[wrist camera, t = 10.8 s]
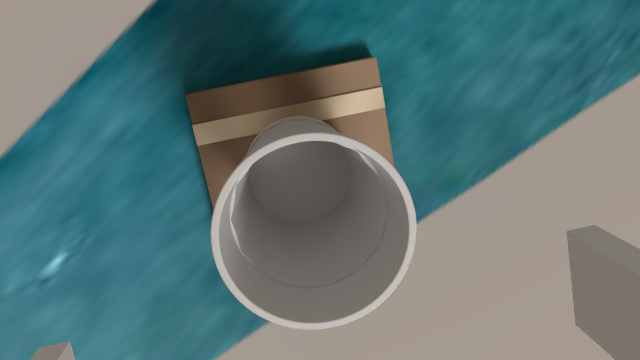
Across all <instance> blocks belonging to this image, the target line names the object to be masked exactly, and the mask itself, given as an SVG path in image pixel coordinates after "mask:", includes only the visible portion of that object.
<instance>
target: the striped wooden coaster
mask: <svg viewBox="0 0 640 360" xmlns="http://www.w3.org/2000/svg"><path fill="white" fill-rule="evenodd" d="M185 97H186V101H187V105H188V109H189V113H190V117H191V121H192V127H193V131H194V135H195V139H196V143H197V146H198V149H199V153H200V157H201V162H202V166H203V170H204V174H205V178H206V182H207V186H208V190H209V194H210V198H211V202H212V206H213V210H214V207H215V203H216V201H217V198H218V196H219V193H220V191H221V189H222V187H223V185H224V184H225V182H226V181H227V179H228V178H229V176H230V175H231V173H232V172H233V171H234V170H235V168H236V167H237V166H238V165H239V163H240V162H241V161H242V160H243V158H244V157H245V156H246V155H247V152H248V149H249V147H250V145H251V143H252V141H253V140H254V138H255V137H256V136H257V135H258V134H259V133H260V132H261V131H262V130H263V129H264V128H265V127H267V126H268V125H269V124H271V123H273V122H275V121H277V120H280V119H282V118H286V117H291V116H306V117H312V118H315V119H318V120H321V121H323V122H325V123H327V124H328V125H330V126H331V127H332V128H334V129H335V130H336V131H337V132H339V133H341V134H343V135H346V136H348V137H350V138H353V139H355V140H357V141H360V142H362V143H364V144H366V145H367V146H369V147H371V148H372V149H374V150H375V151H377V152H378V153H380V154H381V155H382V156H383V157H384V158H385V159H387V160H388V161H389V162H390V163H391V164H392V166H393V167H394V161H393V155H392V149H391V143H390V137H389V131H388V124H387V118H386V112H385V103H384V97H383V91H382V87H381V82H380V76H379V70H378V64H377V58H376V57H368V58H363V59H358V60H353V61H348V62H343V63H337V64H332V65H327V66H322V67H317V68H312V69H307V70H302V71H297V72H292V73H287V74H282V75H277V76H272V77H267V78H262V79H257V80H252V81H247V82H242V83H237V84H232V85H227V86H222V87H217V88H212V89H207V90H202V91H197V92H192V93H188V94H187V95H185ZM394 168H395V167H394Z"/></svg>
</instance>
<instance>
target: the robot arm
mask: <svg viewBox="0 0 640 360" xmlns="http://www.w3.org/2000/svg"><path fill="white" fill-rule="evenodd" d="M567 238H568V249H569V259H570V270H571V280H572V291H573V302H574V312H575V323H576V325H577V326H578V327H579V328H580V329H581V330H582V331H584V332H585V333H586V334H587V335H588V336H589V337H590V338H591V339H593V340H594V341H595V342H596V343H597V344H599V345H600V346H601V347H602V348H603V349H604V350H605V351H606V352H607V353H609V354H610V355H611V356H612V357H613V358H614V359H615V360H640V249H638V248H636V247H634V246H633V245H631V244H629V243H627V242H625V241H623V240H621V239H619V238H617V237H616V236H614V235H612V234H610V233H608V232H606V231H605V230H603V229H601V228H599V227H597V226H595V225H592V226H588V227H583V228H579V229H575V230H570V231H567ZM31 360H75V357H74V354H73V351H72V348H71V345H70V342H64V343H60V344H55V345H51V346H46V347H42V348H39V349H38V350H37V351H36V353H35V354H34V356H33V357H32V358H31Z"/></svg>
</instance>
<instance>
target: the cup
mask: <svg viewBox="0 0 640 360" xmlns="http://www.w3.org/2000/svg"><path fill="white" fill-rule="evenodd" d="M416 228H417V226H416V214H415V209H414V205H413V201H412V198H411V195H410V193H409V190H408V188H407V186H406V184H405V182H404V181H403V179H402V177H401V176H400V174H399V173H398V172H397V170H396V169H395V168H394V167H393V166H392V164H391V163H390V162H389V161H388V160H387V159H385V158H384V157H383V156H382V155H381V154H380V153H378V152H377V151H375V150H374V149H372V148H371V147H369V146H367V145H366V144H364V143H362V142H360V141H357V140H355V139H353V138H350V137H348V136H346V135H343V134H341V133H339V132H337V131H336V130H335V129H334V128H332V127H331V126H330V125H328V124H327V123H325V122H323V121H321V120H318V119H315V118H312V117H306V116H291V117H286V118H282V119H280V120H277V121H275V122H273V123H271V124H269V125H268V126H267V127H265V128H264V129H263V130H262V131H261V132H260V133H259V134H258V135H257V136H256V137H255V138H254V140H253V141H252V143H251V145H250V147H249V149H248V152H247V155H246V156H245V157H244V158H243V160H242V161H241V162H240V163H239V165H238V166H237V167H236V168H235V170H234V171H233V172H232V173H231V175H230V176H229V178H228V179H227V181H226V182H225V184H224V185H223V187H222V189H221V191H220V193H219V196H218V198H217V201H216V203H215V207H214V210H213V215H212V221H211V246H212V252H213V256H214V260H215V263H216V266H217V269H218V271H219V273H220V275H221V277H222V279H223V281H224V282H225V284H226V286H227V287H228V288H229V290H230V291H231V292H232V294H233V295H234V296H235V297H236V298H237V299H238V300H239V301H240V302H241V303H242V304H243V305H244V306H246V307H247V308H248V309H249V310H251V311H252V312H254V313H255V314H257V315H259V316H260V317H262V318H264V319H266V320H268V321H271V322H273V323H276V324H279V325H282V326H286V327H291V328H297V329H325V328H331V327H336V326H339V325H343V324H346V323H349V322H351V321H354V320H356V319H358V318H360V317H362V316H364V315H365V314H367V313H369V312H370V311H372V310H373V309H375V308H376V307H377V306H379V305H380V304H381V303H382V302H383V301H385V300H386V298H388V296H390V294H391V293H392V292H393V291H394V290H395V288H396V287H397V286H398V284H399V283H400V281H401V280H402V278H403V277H404V275H405V273H406V271H407V269H408V267H409V264H410V262H411V259H412V256H413V252H414V248H415V242H416V231H417V229H416Z"/></svg>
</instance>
